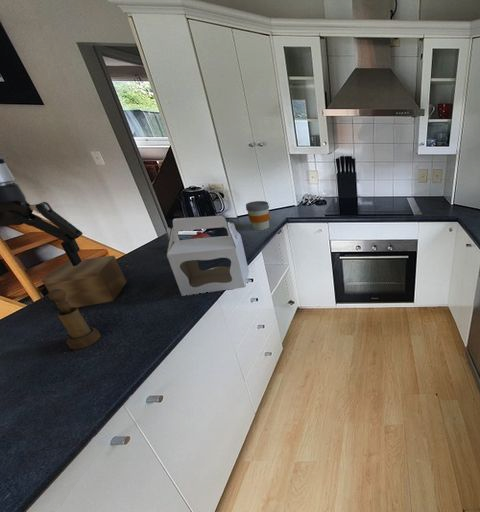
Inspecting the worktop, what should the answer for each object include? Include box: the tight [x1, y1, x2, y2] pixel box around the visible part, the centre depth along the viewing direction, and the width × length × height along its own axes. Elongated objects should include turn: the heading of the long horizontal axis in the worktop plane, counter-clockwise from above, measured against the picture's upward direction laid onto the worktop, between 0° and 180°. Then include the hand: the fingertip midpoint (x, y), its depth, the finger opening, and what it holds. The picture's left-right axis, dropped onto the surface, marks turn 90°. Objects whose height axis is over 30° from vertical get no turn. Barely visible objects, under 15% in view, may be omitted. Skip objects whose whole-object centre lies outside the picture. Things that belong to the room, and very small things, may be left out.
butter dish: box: [190, 230, 211, 239], centre depth 138 cm, size 12×12×8 cm
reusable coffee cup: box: [245, 200, 271, 231], centre depth 164 cm, size 13×13×15 cm
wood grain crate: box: [41, 255, 127, 309], centre depth 98 cm, size 14×14×12 cm
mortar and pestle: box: [47, 289, 102, 350], centre depth 76 cm, size 7×6×18 cm
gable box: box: [166, 214, 250, 297], centre depth 104 cm, size 22×13×28 cm, turn 108°
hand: (41, 268), depth 69 cm, fingers open, 13 cm apart
